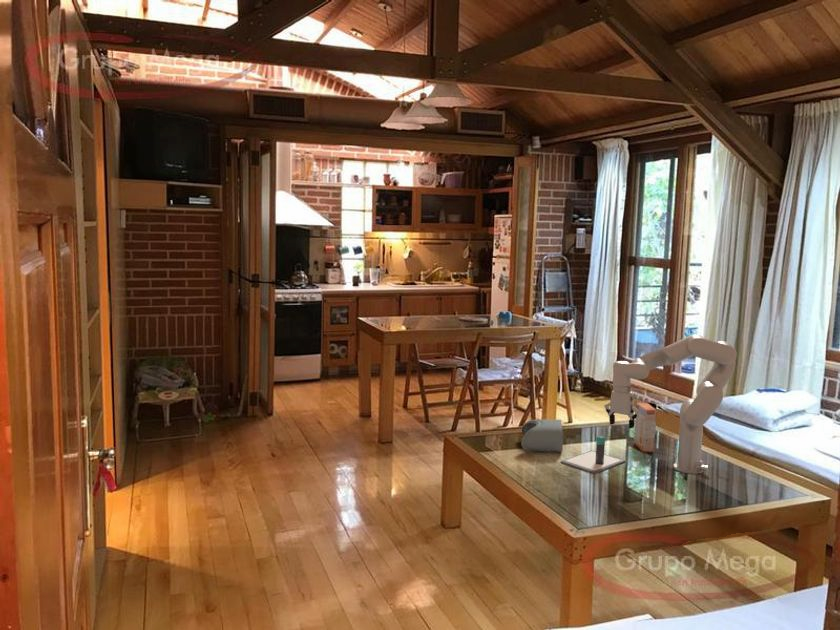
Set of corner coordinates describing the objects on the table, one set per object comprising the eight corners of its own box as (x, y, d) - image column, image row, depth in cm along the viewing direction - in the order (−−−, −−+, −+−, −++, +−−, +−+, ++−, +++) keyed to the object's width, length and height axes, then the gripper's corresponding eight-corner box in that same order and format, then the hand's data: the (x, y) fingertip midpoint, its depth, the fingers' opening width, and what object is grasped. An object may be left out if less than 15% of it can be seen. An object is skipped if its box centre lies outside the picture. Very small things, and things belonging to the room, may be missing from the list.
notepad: (625, 462, 315) (625, 460, 315) (594, 473, 299) (594, 471, 299) (591, 452, 328) (591, 450, 328) (560, 462, 312) (560, 460, 312)
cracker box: (654, 452, 329) (657, 409, 327) (641, 452, 330) (644, 409, 327) (645, 443, 343) (648, 402, 341) (633, 442, 343) (635, 401, 341)
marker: (605, 463, 310) (607, 437, 308) (600, 465, 307) (602, 439, 306) (598, 461, 312) (599, 435, 311) (593, 462, 310) (594, 437, 308)
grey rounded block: (562, 456, 321) (562, 429, 319) (521, 455, 324) (521, 428, 322) (560, 441, 342) (560, 416, 341) (522, 441, 345) (521, 416, 344)
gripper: (643, 390, 306) (643, 427, 308) (609, 384, 318) (609, 420, 320) (634, 393, 301) (634, 431, 303) (600, 387, 313) (600, 424, 315)
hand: (621, 425), depth 311 cm, fingers open, 9 cm apart
